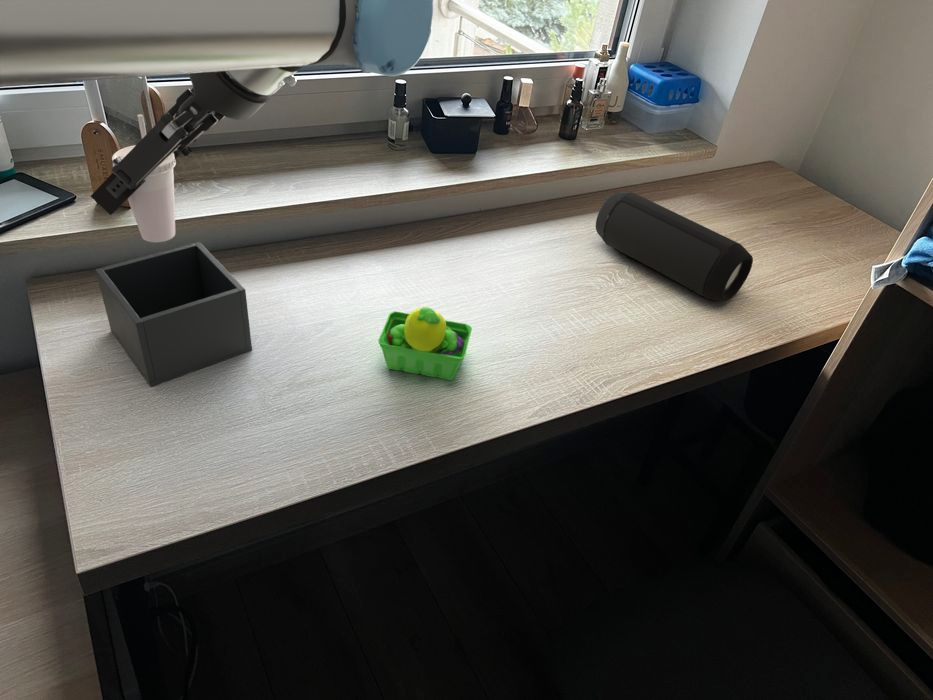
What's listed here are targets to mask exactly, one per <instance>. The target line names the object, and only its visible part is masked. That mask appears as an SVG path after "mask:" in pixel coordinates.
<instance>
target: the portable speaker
mask: <svg viewBox="0 0 933 700" xmlns="http://www.w3.org/2000/svg"><path fill="white" fill-rule="evenodd" d="M595 231H596V233H597V234H598V236H599V237H600V239H602V241H603V242H604V243H605V244H606V245H608V246H609V247H611V248H613V249H615V250H617V251H619V252H620V253H622V254H624V255H626V256H628V257H629V258H632V259H634V260H635V261H637V262H639V263H641V264H643V265H644V266H646V267H648V268H650V269H651V270H654V271H656V272H657V273H660V274H662V275H663V276H665V277H667V278H668V279H671V280H673V281H674V282H677V283H678V284H680V285H681V286H683V287H685V288H687V289H689V290H691V291H693V292H694V293H696V294H698V295H700V296H702V297H704V298H706V299H707V300H713V301H720V302H728V301H730V300H731V299H732V298H733V297H734V296H736V294H738V292H739V291H740V289H741V288H742V287H743V285H744V284H745V282H746V281H747V279H748V276H749V275H750V272H751V270H752V267H753V263H754V258H753V255H752V254H751V253H750V252H749V251H748V250H747V249H746V248H745V246H743V244H741V243H739V242H738V241H736V240H733V239H731V238H729V237H727V236H725V235H723V234H721V233H719V232H717V231H715V230H712V229H710V228H708V227H706V226H704V225H702V224H700V223H698V222H696V221H694V220H692V219H689V218H687V217H685V216H683V215H681V214H679V213H677V212H675V211H672V210H670V209H669V208H667V207H665V206H662V205H660V204H658V203H656V202H654V201H652V200H650V199H648V198H645V197H644V196H641V195H640V194H638V193H636V192H629V191H617V192H614V193H613V194H611V195H610V196H609V197H607V199H606V200H605V201H604V203H603V204H602V205H601V208H600V210H599V211H598V213H597V216H596V220H595Z"/></svg>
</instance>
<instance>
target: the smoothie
mask: <svg viewBox="0 0 933 700" xmlns="http://www.w3.org/2000/svg"><path fill="white" fill-rule="evenodd" d="M136 116H137V120H138V126H139V131H140V137H141V140H142V139H143V138H144V137H145V136H146V135H147V133H148V132H147V129H146V123H145V118H144V115H143V114H141V113H140V114H137V115H136ZM136 145H137V144H135V145H130V146H125V147H123V148H121V149H119V150H117V151H116V152H115V153H113V155H112V156H111V160H112V161H113V160H114V159H115V158H117V157H120V158H121V159H123V158H124V157H125V156H126V155H127V154H128V153H129V152H130V151H131V150H132V149H133V148H134V147H135V146H136ZM176 165H177V159H175V157H174V153H172V154H171V155H170V156H169V157H167V158H166V159H165V160H164V161H163V162H162V163H161V164H160V165H159V166H158V167H157V168H156V169H155V170H154V171H153V172H152V173H150V174H149V175H148V176H147V177H146V178H145V179H144V180H145V182H144V183H143V184H142V185H141V186H140V187H139V188H138V189H137V190H136V191H135V192H134V193H133V194H132V195H131V196H130V197H129V198H128V199H127V201H128V203H129V207H130V209H131V211H132V215H133V217H134V220H135V223H136V225H137V228H138V231H139V233H140V237H141V239H142V240H144V241H146V242H149V243H162V242H167V241H170V240H172V239H173V238H174V237H175V236H176V213H175V212H176V209H175V207H176V206H175V176H174V175H175V174H174V168H175V167H176ZM114 166H115V164H114V163H113V162H112V168H113V167H114Z"/></svg>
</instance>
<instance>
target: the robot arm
mask: <svg viewBox="0 0 933 700" xmlns="http://www.w3.org/2000/svg"><path fill="white" fill-rule="evenodd" d="M434 10H435V9H434V0H0V88H3V87H14V86H15V87H16V86H29V85H30V86H31V85H42V84H44V85H45V84H54V83H55V84H57V83H58V84H59V83H72V82H73V83H74V82H86V81H101V80H113V79H114V80H115V79H130V78H131V79H132V78H143V77H158V76H172V75H173V76H174V75H187V74H188V77H189V80H190V82H191V84H192V88H191V89H190V88H187V89H186V90H184V91H183V92H182V93H181V95H179V96H178V97H177V98H176V99H175V100H176V101H175V104H174V105H173V106H172V107H171V108H170V109H168V111H167V112H166V113H162V115H161V116H160V118H159V120H158V121H157V122H156V124H155V125H154V126H153V127H152V128H151V129H150V130H149V131H148V132H146V133H147V135H146V136H145V137H144V138H143V139H142V138H141V139H140V140H139V142H137V144H135V145H136V146H135V147H134V148H133V149H132V150H131V151H130V152H129V153H128V154H127V155H126V156H125V157H124V158H123V159H121V158H120V157H117V158H115V159H114V160H113V161H112V164H113V163H114V164H115V166H114V167H113V166H112V169H111V174H110V175H109V176H108V177H107V178H106V179H105V180H104V181H103V182H102V183H101V184H100V185H99V187H98V188H97V189H96V190H94V192H93V193H92V194H91V195H90V197H91V198H92V199H93V200H94V201H95V202H96V203H97V205H99V206H100V207H101V208H102V209H103V210H104V211H105V212H106V213H107V214H108V215H109V216H111V215H113V214H114V213H115V212H116V211H118V209H119V208H121V206H122V205H124V204H125V202H126V201H128V198H129V197H130V196H131V195H132V194H133V193H134V192H135V191H136V190H137V189H138V188H139V187H140V186H141V185H142V184H143V183H144V182H145V180H144V179H145V178H146V177H147V176H148V175H149V174H150V173H152V172H153V171H154V170H155V169H156V168H157V167H158V166H159V165H160V164H161V163H162V162H163V161H164V160H165V159H166V158H167V157H169V156H170V155H171V154H172V153H174V157H175V160H177V158H179V156H180V154H182V156H183V157H185V158H188V156H190V155H191V154H192V153H193V149H192V148H190V147H189V145H190V144H193V143H196V142H197V141H198V140H199V137H201V135H202V134H203V133H204V132H206V131H209V130H210V129H212V128H213V127H214V126H215V125H216V124H217V123H219V122H220V121H222V120H223V119H224V118H228V119H230V120H235V121H245V120H248V119H250V118H251V117H253V116H254V115H255V114H256V113H257V112H258V111H259V110H260V109H261V108H262V107H263V106H264V105H265V104H267V102H269V101H270V99H271V97H272V96H273V95H274V94H276V93H277V92H278V91H279V90H280V89H282V87H283V86H284V85H285V84H286V85H287V86H288V87H294V86H295V85H296V84H297V79H296V77H295V76H294V75H296V74H297V73H298V72H299V71H301V69H303V67H305V66H323V65H324V66H325V65H346V66H351V67H355V68H357V69H359V71H361V72H363V73H365V74H370V73H372V74H376V75H382V76H386V77H398V76H401V75H404V74H406V73H407V72H408V71H410V70H411V69H412V68H414V66H416V64H417V63H418V62H419V60H420V59H421V58H422V56H423V54H424V52H425V50H426V48H427V46H428V43H429V40H430V37H431V35H432V34H431V33H432V25H433V18H434V13H435V11H434ZM178 151H179V152H180V153H178Z"/></svg>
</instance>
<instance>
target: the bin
mask: <svg viewBox="0 0 933 700" xmlns="http://www.w3.org/2000/svg"><path fill="white" fill-rule="evenodd" d="M95 274H96V277H97V282H98V285H99V289H100V293H101V298H102V301H103V305H104V308H105V313H106V316H107V320H108V324H109V328H110V331H111V333H112V334H113V336H114V337H115V338H116V340H117V342H118V343H119V345H120V346H121V347H122V349H123V350H124V351H125V353H126V354H127V356H128V358H129V359H130V360H131V362H132V363H133V364H134V366H135V367H136V368H137V370H138V371H139V373H140V374H141V376H142V377H143V379H144V380H145V381H146V383H147V384H148V386H149V387H150V388H152V387H155V386H157V385H160V384H162V383H166V382H169V381H171V380H174V379H177V378H180V377H182V376H185V375H187V374H190V373H192V372H196V371H199V370H201V369H204V368H206V367H209V366H212V365H214V364H215V365H216V364H217V363H220V362H223V361H226V360H230V359H231V358H235V357H237V356H240V355H242V354H245V353H248V352H250V351H252V350H253V345H252V335H251V328H250V319H249V318H250V317H249V309H248V300H247V292H246V291H247V290H246V288H245V287H243V285H242V284H241V283H240V282H239V281H238V280H237V279H236V278H235V277H234V276H233V275H232V274H231V273H230V272H229V271H228V270H227V269H226V268H225V267H224V266H223V264H222V263H220V261H219V260H218V259H216V258H215V256H213V254H212V253H211V252H210V251H209V250H208V249H207V248H206V247H205V246H204V245H203V244H202V243H201V242H200V241H197V242H194V243H188V244H186V245H182V246H178V247H174V248H171V249H170V248H169V249H166V250H163V251H159V252H155V253H152V254H147V255H144V256H140V257H137V258H133V259H129V260H125V261H121V262H118V263H114V264H110V265H107V266H103V267H99V268H96V269H95Z"/></svg>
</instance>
